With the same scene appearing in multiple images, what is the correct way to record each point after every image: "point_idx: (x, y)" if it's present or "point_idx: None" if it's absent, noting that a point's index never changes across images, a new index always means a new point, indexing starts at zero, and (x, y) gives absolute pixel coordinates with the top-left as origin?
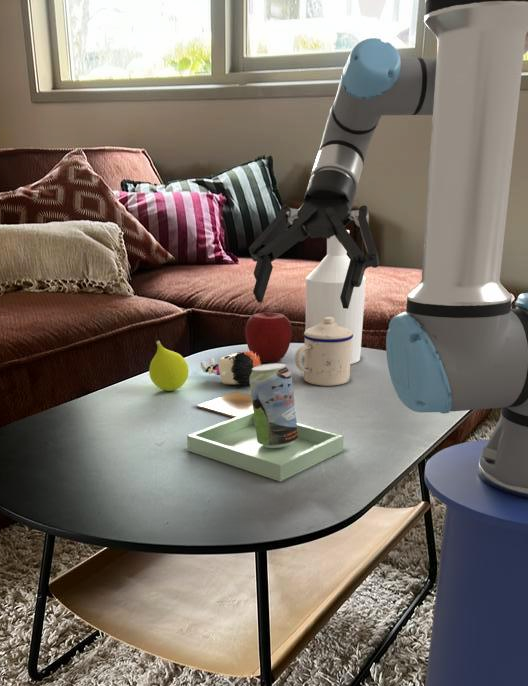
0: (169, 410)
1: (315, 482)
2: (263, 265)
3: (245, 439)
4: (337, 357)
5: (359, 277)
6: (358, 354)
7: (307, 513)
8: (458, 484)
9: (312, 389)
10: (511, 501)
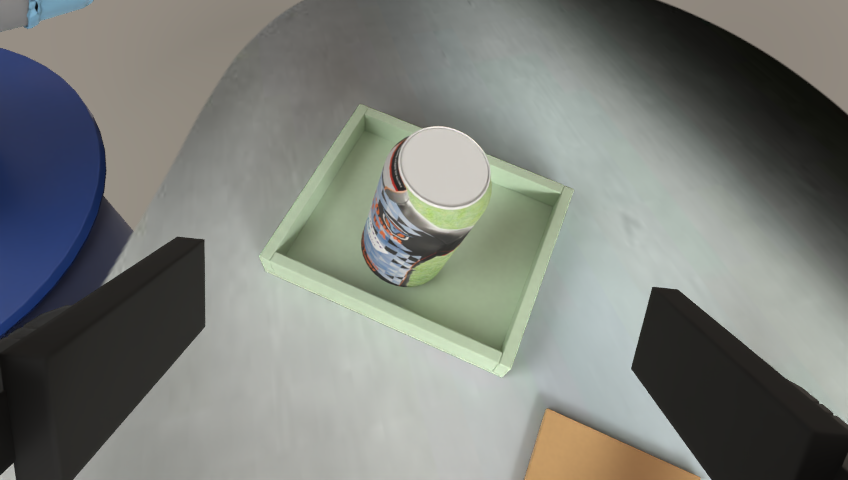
0: None
1: (302, 132)
2: (767, 376)
3: (478, 268)
4: None
5: (39, 316)
6: None
7: (299, 47)
8: (45, 139)
9: None
10: None
